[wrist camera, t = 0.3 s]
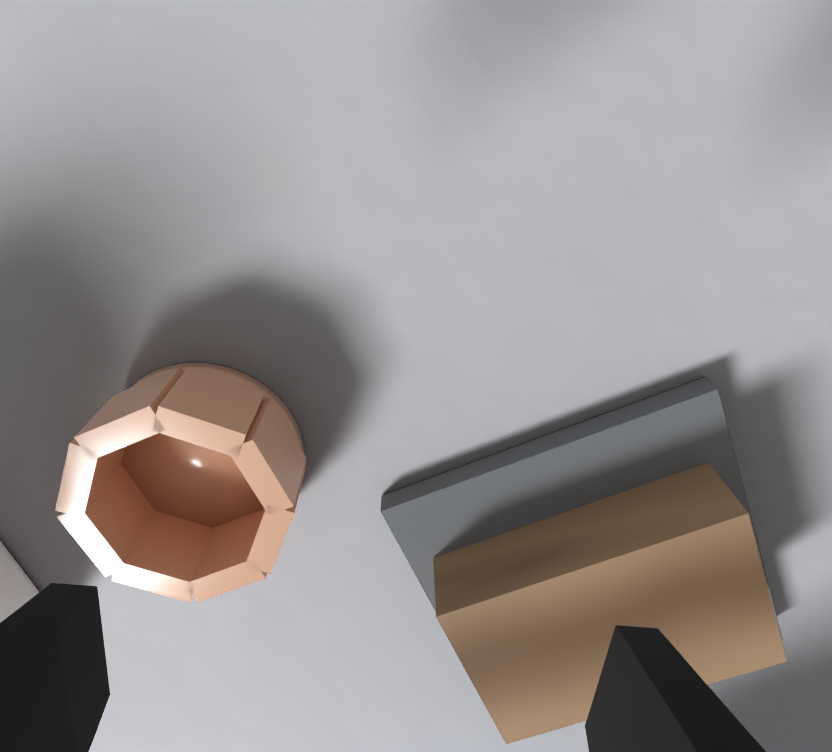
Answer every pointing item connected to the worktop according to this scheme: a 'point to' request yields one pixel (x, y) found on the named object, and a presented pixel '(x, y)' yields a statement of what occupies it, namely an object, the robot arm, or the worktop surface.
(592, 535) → the tan cardboard box
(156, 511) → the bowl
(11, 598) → the medicine bottle
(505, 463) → the mat
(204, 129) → the worktop surface
